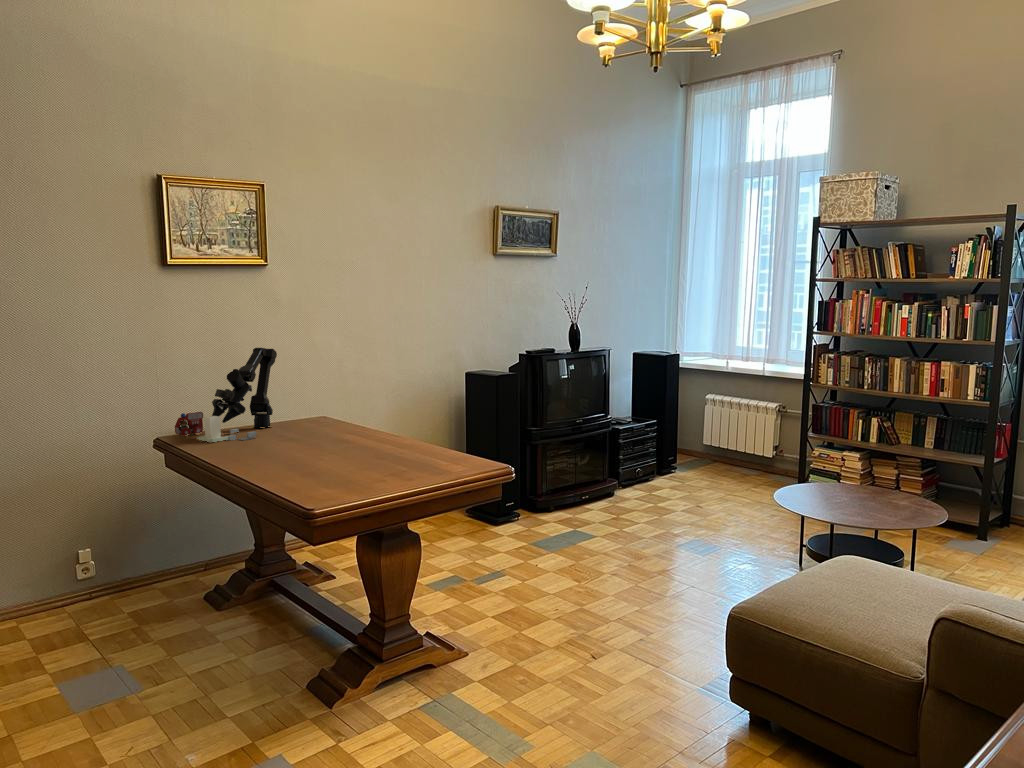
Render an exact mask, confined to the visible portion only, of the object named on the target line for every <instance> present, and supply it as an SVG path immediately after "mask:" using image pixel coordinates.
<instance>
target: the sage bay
mask: <svg viewBox="0 0 1024 768" xmlns="http://www.w3.org/2000/svg"><path fill="white" fill-rule="evenodd" d="M228 436H229V435H227V436H226V435H225V436H221V438H215V439H208V438H205V435H202V436H197V437H196V440H197V439H199V440H202V441H207V442H210V443H209V444H212V443H211V442H214V443H218V442H217V441H220V442H224V441H223V440H226V441H230V440H229V437H228ZM202 441H201V442H202ZM207 442H206V443H207Z"/></svg>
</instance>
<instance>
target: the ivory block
mask: <svg viewBox="0 0 1024 768" xmlns="http://www.w3.org/2000/svg"><path fill="white" fill-rule="evenodd" d="M220 418H221V417H220V416H212V415H209V416H203V421H204V423H203V425H204V436H205V438H208V439H215V438H221V437H222V436H221V433H222V432H221V419H220Z"/></svg>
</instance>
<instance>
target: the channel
mask: <svg viewBox="0 0 1024 768" xmlns="http://www.w3.org/2000/svg"><path fill="white" fill-rule="evenodd" d="M239 430H240V429H239V428H234V429H229V432H228V433H229V435H227V436H228V437H229V440H228V441H230V440H231V441H236V440H238V441H243V442H245V441H249V440H255V439H256V437H257V431H250V432H246V437H239V438H237V435H236V434H230V433H234V432H239V433H240V431H239Z"/></svg>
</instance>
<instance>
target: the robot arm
mask: <svg viewBox="0 0 1024 768" xmlns="http://www.w3.org/2000/svg"><path fill="white" fill-rule="evenodd" d="M277 356H278V355H277V350H275V349H274V348H265V347H255V348H253V350H252V353H251V355H250V357H249V358H248V360H247V362H246V363H245V365H242V366H241V367H240V368H232V371H230V372H229V373H227V375H226V380H227V381H228V382H229V384H230V386H232V390H231V389H229V388H225V389H220V388H219V389H218V388H217V389H216V390H215V394H214V396H215V397H217V398H214V399H213V400H212V401H211V404H212V407H213V411H212V414H211V416H219V417H220V416H222V415H223V414H224V413H225V411H226V410H227V412H226V414H225V415H224V417H223V419H222V421H221V422H222V423H223V424H225V423H226V422H229V421H230V420H233V419H234V418H236V417H239V416H241V415H243V414H244V413H245V412H246V407H245V405H243V404H242V403H241V402H243V401H245V399H244V397H246V395H247V393H248V392H251V393H252V391H253V386H252V384H249V383H253V382H254V381H255V379H256V375H257V374H256V370H257V368H258V367H259V371H258V378H257V379H258V380H257V383H256V384H257V385H256V392H255V394H254V395H251V397H250V403H249V410H250V414H251V416H254V419H253V427H256V428H255V429H258V428H260V427H268V426H271V416H273V411H274V410H273V408H272V406H271V404H270V399H269V397H268V390H269V389H268V387H269V380H270V373H271V368H272V366H273V365H275V363H276V360H277V359H276V358H277Z"/></svg>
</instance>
